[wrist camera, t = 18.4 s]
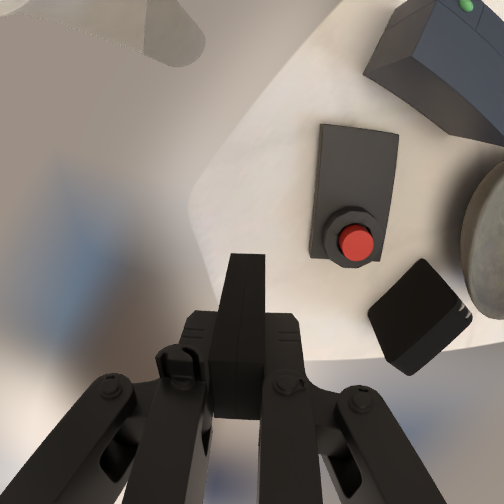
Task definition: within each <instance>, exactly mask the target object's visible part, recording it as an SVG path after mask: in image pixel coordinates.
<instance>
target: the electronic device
mask: <svg viewBox="0 0 504 504" xmlns="http://www.w3.org/2000/svg"><path fill="white" fill-rule="evenodd" d="M368 318H369V320H370V322H371V325H372V327H373V330H374V332H375V334H376V337H377V339H378V342H379V344H380V346H381V349H382V351H383V354H384V356H385V359H386V361H387V362H389V363H390V364H392V365H393V366H394V367H396V368H397V369H399V370H400V371H401V372H403V373H404V374H406V375H407V376H411V375H413V374H414V373H416V372H417V371H418V370H420V369H421V368H422V367H423V366H424V365H426V364H427V363H428V362H429V361H430V360H432V359H433V358H434V357H435V356H436V355H437V354H438V353H440V352H441V351H442V350H443V349H444V348H445V347H446V346H447V345H449V344H450V343H451V342H452V341H453V340H454V339H455V338H456V337H457V336H458V335H459V334H460V333H461V332H462V331H463V330H465V329H466V328H467V327H468V326H469V325H470V323H471V322H472V318H473V316H472V314H471V312H470V311H469V310H468V308H467V307H466V306H465V305H464V303H463V302H462V301H461V300H460V298H459V297H458V296H457V295H456V294H455V292H454V291H453V290H452V289H451V288H450V287H449V286H448V284H447V283H446V282H445V281H444V280H443V279H442V278H441V276H440V275H439V274H438V273H437V272H436V271H435V270H434V269H433V268H432V267H431V265H430V264H429V263H428V262H427V261H426V260H425V259H420V260H419V261H418V262H416V263H415V265H414V266H413V267H412V268H411V269H410V270H409V271H408V272H407V273H406V274H405V275H404V276H403V277H402V278H401V279H400V280H399V281H398V282H397V283H396V284H395V285H394V286H393V287H392V288H391V289H390V290H389V291H388V292H387V293H386V294H385V295H384V296H382V297H381V298H380V299H379V300H378V301H377V302H376V303H375V304H374V305H373V306H372V307H371V308H370V309H369V311H368Z"/></svg>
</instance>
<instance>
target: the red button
mask: <svg viewBox="0 0 504 504" xmlns="http://www.w3.org/2000/svg"><path fill="white" fill-rule="evenodd" d="M339 245H340V247H341V249H342V251H343V253H344V255H345V256H346V257H347V258H348V259H350V260H352V261H360V260H363V259H365V258H367V257H368V256H369V255H370V253H371V252H372V250H373V246H374V242H373V239H372V237H371V235H370V234H369V233H368V231H367V230H366V229H365V228H364V227H363V226H361V225H356V224H354V225H350V226H347V227H346V228H345V229H343V231H342V232H341V234H340V236H339Z"/></svg>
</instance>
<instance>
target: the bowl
mask: <svg viewBox="0 0 504 504" xmlns="http://www.w3.org/2000/svg"><path fill="white" fill-rule="evenodd" d="M461 260H462V269H463V275H464V280H465V284H466V287H467V290H468V293H469V295H470V298H471V300H472V302H473V303H474V305H475V306H476V308H477V309H478V310H479V311H480V312H481V313H482V314H483V315H485V316H487V317H489V318H492V319H498V320H503V319H504V160H503V161H501V162H500V163H498V164H497V165H496V166H495V167H494V168H493V169H492V170H491V171H490V172H489V173H488V174H487V175H486V176H485V177H484V179H483V180H482V181H481V182H480V184H479V185H478V187H477V188H476V190H475V192H474V194H473V196H472V198H471V200H470V202H469V205H468V207H467V210H466V213H465V216H464V221H463V225H462V231H461Z"/></svg>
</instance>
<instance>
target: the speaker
mask: <svg viewBox="0 0 504 504" xmlns="http://www.w3.org/2000/svg"><path fill="white" fill-rule="evenodd" d="M363 75H365V76H366V77H368V78H370V79H371V80H373V81H374V82H376V83H378V84H379V85H381V86H382V87H384V88H386V89H387V90H389V91H390V92H392V93H393V94H395V95H396V96H398V97H399V98H401V99H402V100H404V101H405V102H406V103H408V104H409V105H411V106H412V107H414V108H415V109H416V110H418V111H419V112H420V113H422V114H423V115H424V116H426V117H427V118H428V119H430V120H431V121H432V122H434V123H435V124H436V125H438V126H439V127H440V128H441V129H443V130H444V131H445V132H446V133H448V134H449V135H453V136H458V137H463V138H468V139H472V140H477V141H481V142H486V143H490V144H494V145H498V146H502V147H504V22H503V21H502V20H501V19H500V18H499V17H498V16H497V15H496V14H495V13H494V12H493V11H492V10H491V9H490V8H489V7H488V6H487V5H486V4H484V2H482V1H481V0H407V1H406V2H405V3H403V4H402V5H401V6H399V7H398V8H396V9H395V11H394V13H393V15H392V17H391V19H390V21H389V23H388V25H387V27H386V29H385V32H384V33H383V35H382V37H381V39H380V41H379V43H378V45H377V47H376V49H375V51H374V53H373V55H372V57H371V59H370V61H369V63H368V65H367V67H366V69H365V71H364V73H363Z"/></svg>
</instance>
